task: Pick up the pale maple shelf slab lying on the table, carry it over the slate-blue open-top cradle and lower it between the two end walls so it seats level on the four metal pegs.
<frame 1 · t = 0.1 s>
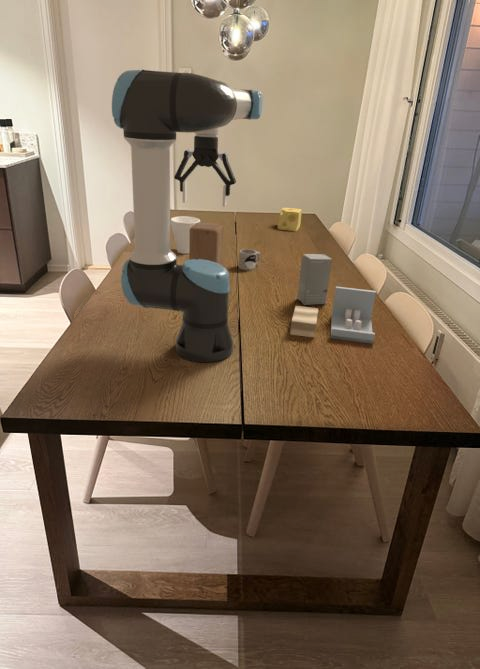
hand: (204, 203, 163), 28 cm above the table, fingers open, 13 cm apart
slab: (303, 328, 146), on the table
wooden block: (205, 280, 178), on the table
cup: (185, 251, 209), on the table
mug: (250, 267, 195), on the table
cheese: (289, 228, 257), on the table
skincare box: (311, 301, 165), on the table
cradle: (351, 329, 147), on the table
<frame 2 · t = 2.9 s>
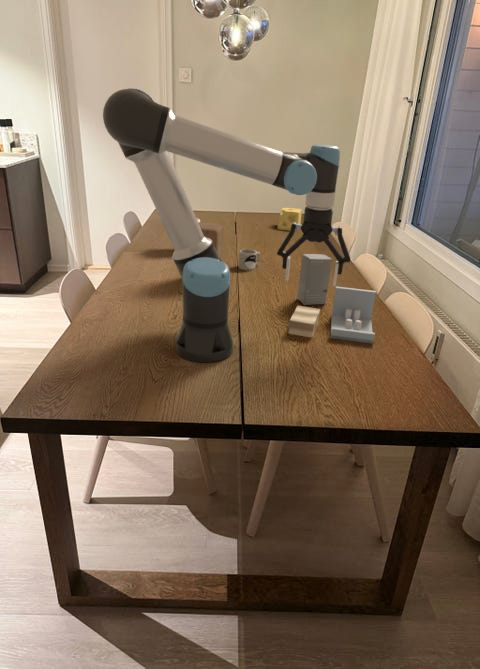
hand: (310, 282, 140), 14 cm above the table, fingers open, 13 cm apart
nothing on the table moved.
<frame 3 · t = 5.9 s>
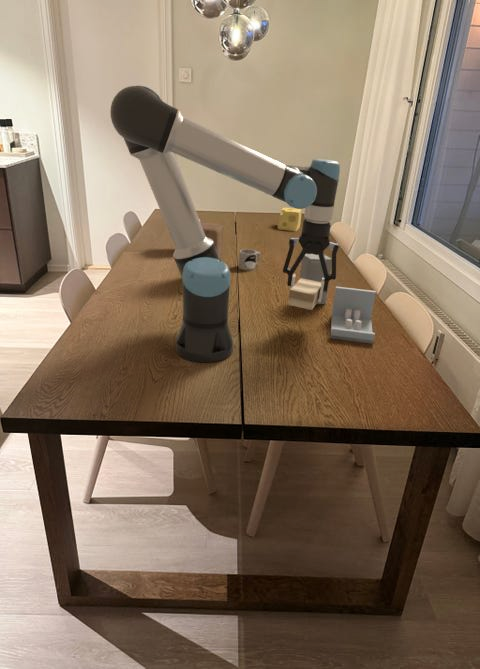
hand: (305, 298, 142), 9 cm above the table, fingers closed on slab, 8 cm apart
slab: (305, 300, 142), point 9 cm above the table, touching gripper
everything else where it was.
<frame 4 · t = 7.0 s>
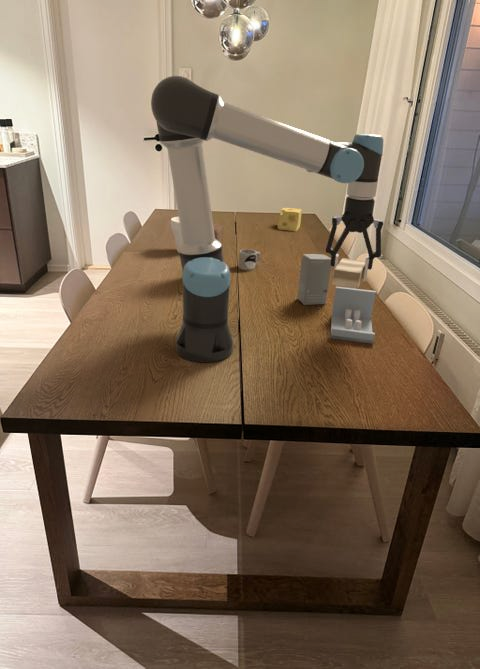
hand: (349, 278, 139), 16 cm above the table, fingers closed on slab, 8 cm apart
slab: (348, 280, 140), point 15 cm above the table, touching gripper
everything else where it was.
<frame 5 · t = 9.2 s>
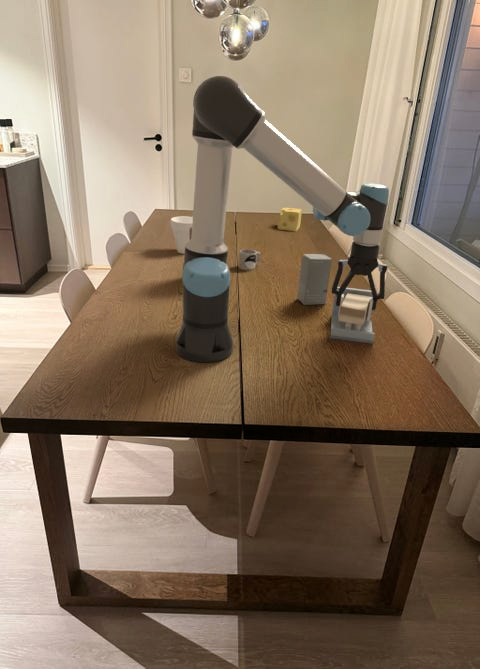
hand: (353, 317, 145), 4 cm above the table, fingers closed on slab, 8 cm apart
slab: (353, 315, 145), point 4 cm above the table, touching cradle, gripper
everything else where it was.
when the fingers open (4 cm above the table, at t = 9.3 s): slab stays where it is, resting on cradle.
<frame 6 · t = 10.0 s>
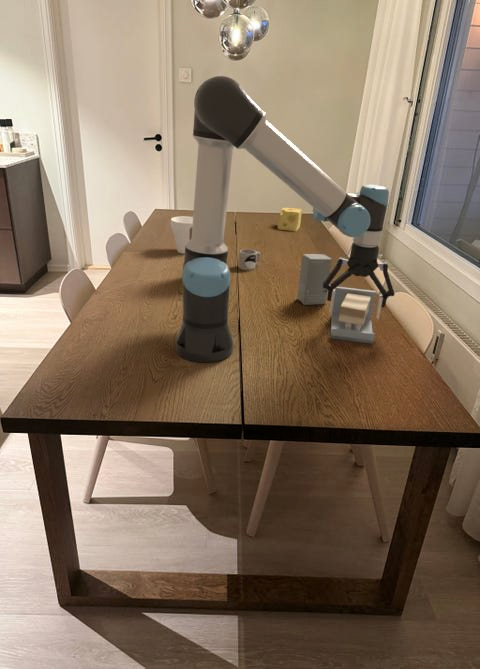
hand: (353, 313, 144), 5 cm above the table, fingers open, 13 cm apart
slab: (353, 315, 145), point 4 cm above the table, touching cradle
everything else where it was.
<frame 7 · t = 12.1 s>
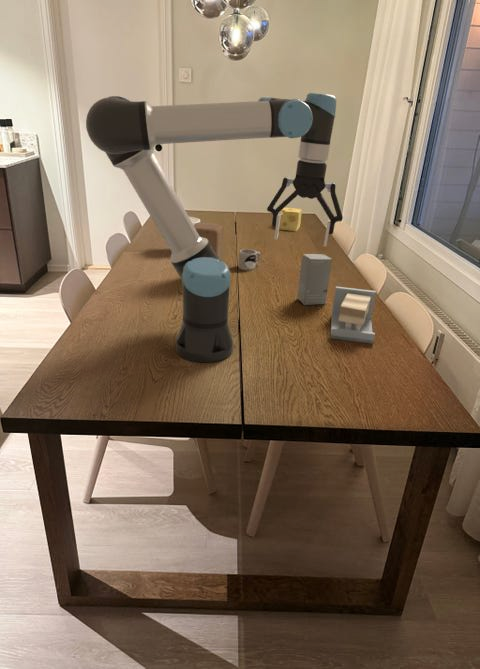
hand: (300, 241, 134), 26 cm above the table, fingers open, 13 cm apart
nothing on the table moved.
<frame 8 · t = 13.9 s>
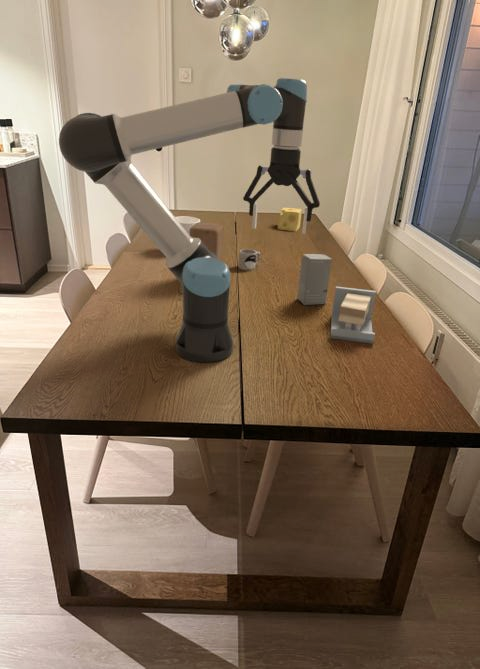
hand: (278, 230, 133), 29 cm above the table, fingers open, 13 cm apart
nothing on the table moved.
at the end: slab 0.1 cm off-centre on the cradle, point 4.5 cm above the cradle's base; slab tilted 0°; the gripper is holding nothing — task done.
